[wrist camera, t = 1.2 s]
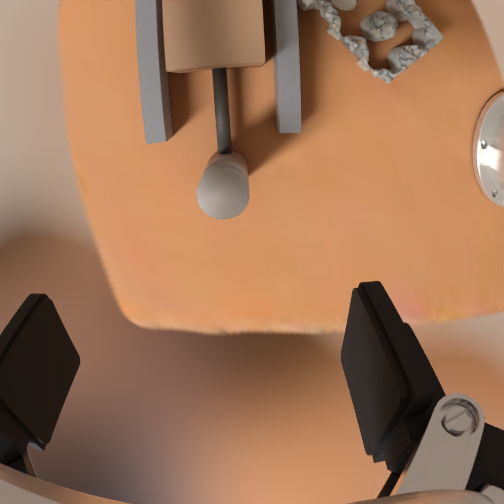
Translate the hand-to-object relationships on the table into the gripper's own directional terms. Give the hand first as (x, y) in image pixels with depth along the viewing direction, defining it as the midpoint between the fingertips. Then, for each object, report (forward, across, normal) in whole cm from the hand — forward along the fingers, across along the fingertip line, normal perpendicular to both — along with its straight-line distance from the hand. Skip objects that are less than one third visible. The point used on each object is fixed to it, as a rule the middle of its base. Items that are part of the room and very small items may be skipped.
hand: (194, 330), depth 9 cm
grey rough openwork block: (+19, -11, -13) cm, 25 cm away
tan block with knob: (+18, 0, -6) cm, 19 cm away
